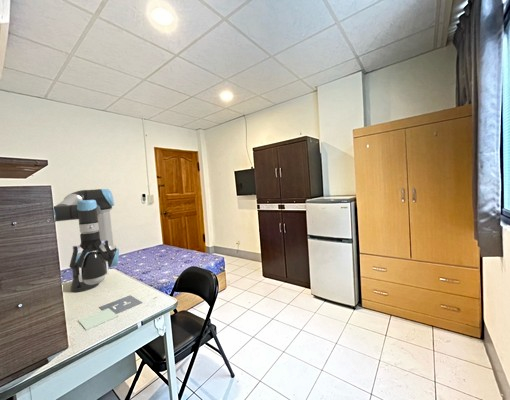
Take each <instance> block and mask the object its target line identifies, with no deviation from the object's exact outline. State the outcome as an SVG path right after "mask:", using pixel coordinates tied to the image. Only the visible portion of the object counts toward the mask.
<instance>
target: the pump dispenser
mask: <svg viewBox="0 0 510 400" xmlns="http://www.w3.org/2000/svg"><path fill="white" fill-rule="evenodd" d="M81 271H82V280H83V282H84V283H85V284H88V285H93V284H97V283H99V284H100V283H102V282H103V280H105V279H106V276H107V274H106V273H107V270H106V266H105V263H104V261H103V259H102V257H101V256H100V253H99V252H98V253H97V252H96V251H93V252H89V253H88V254H87V255H86V256H85V258H84V261H83V264H82V268H81Z"/></svg>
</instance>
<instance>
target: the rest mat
mask: <svg viewBox="0 0 510 400" xmlns="http://www.w3.org/2000/svg"><path fill="white" fill-rule="evenodd" d="M118 317H119V316H118V314H115V313H114V312H113V311H111V310H110V309H109V308H108V309H105V310H100V311H98V312H96V313H93V314H90V315H88V316H85V317H82V318H80V319H78V320H77V321H78V322H79V324H81V326H82V327H83V328H84V329H85V330H86V331H88V330H90V329H92V328H95V327H98V326H99V325H103V324H105V323H106V322H109V321H111V320H113V319H115V318H118Z"/></svg>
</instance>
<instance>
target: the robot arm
mask: <svg viewBox="0 0 510 400" xmlns="http://www.w3.org/2000/svg"><path fill="white" fill-rule="evenodd" d="M53 206H54V215H55V222H54V223H56V222H65V221H73V220H76V221H77V220H78V227H79V233H80V234H79V235H80V238H79V239H80V244H79V245H73V246H72V255H71V259H70V263H69V268H70V269H71V270H72V271H71V272H72V281H71V285H70V292H71V293H80V292H87V291H88V290H92V289H93V288H96V287H97V286H99V285H100V283H97V284H93V285H88V284H85V283H84V282H83V280H82V271H81V268H82V264H83V261H84V258H85V256H86V255H87V254H88V253H89V252H97V253H98V252H99V253H100V256H101V257H102V259H103V261H104V263H105V266H106V270H107V273H106V275H109V274H110V271H109V268H113V267H117V265H118V264H119V257H120V256H119V255H120V249H119V248H117V246H116V245H114V239H113V238H114V237H113V231H112V229H113V228H112V219H111V212H110V211H111V210H112V209H113V207H114V206H115V201H114V197H113V193H112V191H111V190H110V189H109V188H98V189H82V190H77V191H74V192H71V193H68V194H67V195H66V196H65V197H64V198H63V200H61V202H59V203H57V205H53ZM80 249H82V251H81V252H79V250H80Z"/></svg>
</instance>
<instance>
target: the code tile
mask: <svg viewBox="0 0 510 400" xmlns="http://www.w3.org/2000/svg"><path fill="white" fill-rule="evenodd" d="M141 304H143V301H141V300H139V299H137V298H136V297H134V296H133V295H130V294H129V295H127V296H125V297H122V298H119V299H116V300H113V301H112V302H108V303H106V304H104V305H100V306H98V308H99V309H100V311H103V310H105V309H108V308H109V309H110V310H111V311H113V312H114V313H115V314H116V315H118V314H120V313H123V312H125V311H127V310H129V309H131V308H133V307H136V306H139V305H141Z"/></svg>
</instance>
